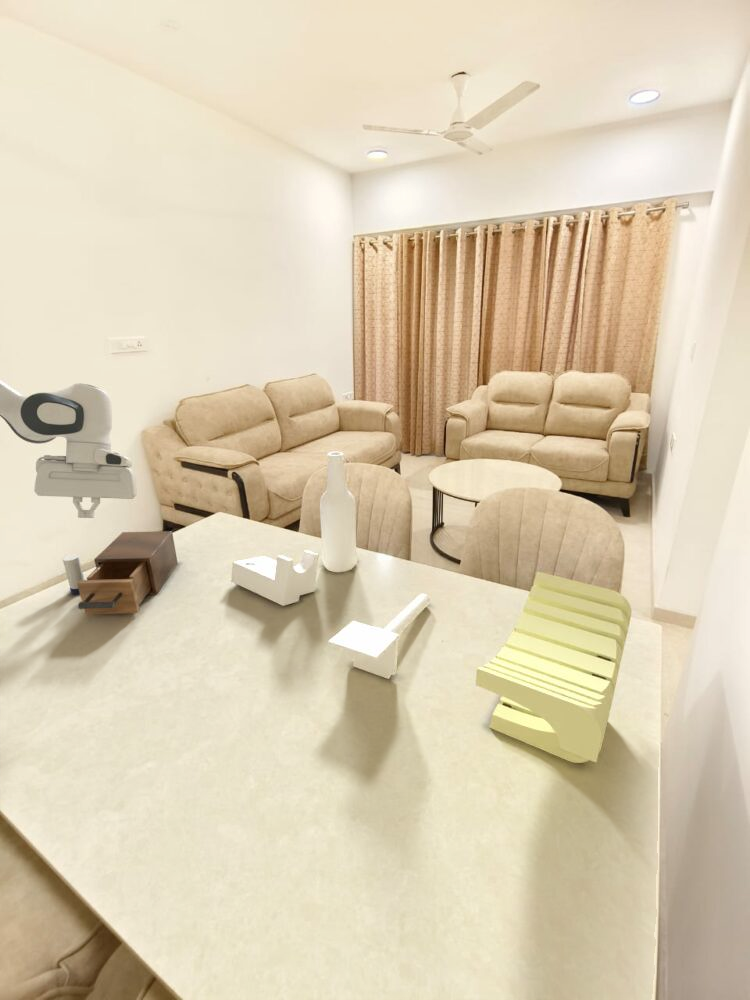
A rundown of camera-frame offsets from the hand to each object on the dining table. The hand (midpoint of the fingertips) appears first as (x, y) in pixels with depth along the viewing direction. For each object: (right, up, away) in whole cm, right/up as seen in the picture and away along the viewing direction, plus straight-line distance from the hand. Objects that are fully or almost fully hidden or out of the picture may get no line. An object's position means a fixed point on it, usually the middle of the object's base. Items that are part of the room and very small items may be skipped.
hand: (86, 517), depth 114 cm
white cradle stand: (+42, -17, +7) cm, 46 cm away
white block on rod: (+70, -25, -14) cm, 75 cm away
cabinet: (+8, -16, +11) cm, 21 cm away
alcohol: (+57, -13, +16) cm, 60 cm away
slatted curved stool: (+94, -32, -33) cm, 105 cm away
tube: (-5, -18, +6) cm, 19 cm away
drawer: (+8, -19, -1) cm, 21 cm away
